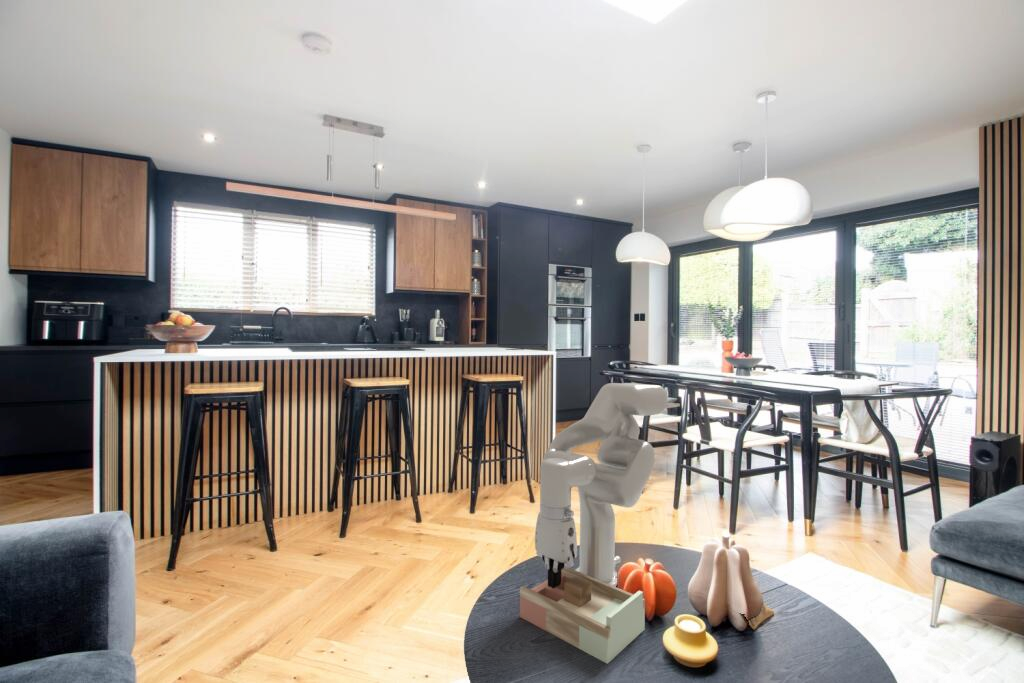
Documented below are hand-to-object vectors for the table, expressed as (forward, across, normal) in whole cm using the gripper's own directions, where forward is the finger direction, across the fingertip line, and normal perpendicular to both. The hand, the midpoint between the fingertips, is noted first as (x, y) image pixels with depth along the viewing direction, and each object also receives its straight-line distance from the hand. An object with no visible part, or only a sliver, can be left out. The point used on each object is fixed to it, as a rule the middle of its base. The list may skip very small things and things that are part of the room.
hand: (554, 585), depth 117 cm
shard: (+7, -37, -32) cm, 50 cm away
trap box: (+6, -8, 0) cm, 10 cm away
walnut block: (+1, -7, 0) cm, 7 cm away
